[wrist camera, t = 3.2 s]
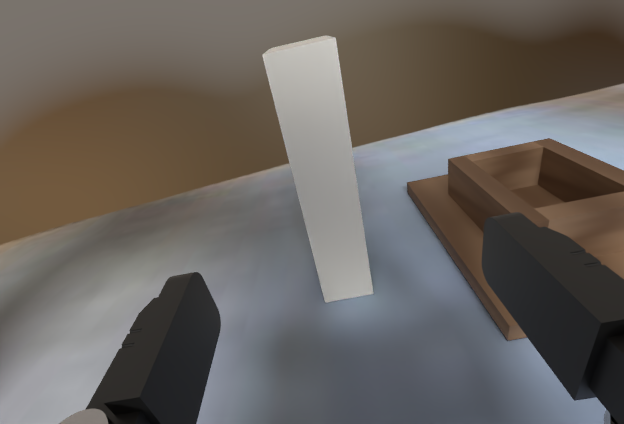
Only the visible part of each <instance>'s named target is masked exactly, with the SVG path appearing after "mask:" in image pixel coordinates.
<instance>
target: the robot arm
mask: <svg viewBox="0 0 624 424" xmlns="http://www.w3.org/2000/svg"><path fill="white" fill-rule="evenodd" d="M482 270H483V274H484V277H485V279H486V281H487V283H488V285H489V286H490V287H491V289H492V290H493V292H494V293H495V294H496V296H497V297H498V298H499V300H500V301H501V302H502V304H503V305H504V306H505V308H506V309H507V310H508V312H509V313H510V314H511V316H512V317H513V318H514V320H515V321H516V322H517V324H518V325H519V327H520V328H521V329H522V331H523V332H524V333H525V335H526V336H527V337H528V339H529V340H530V341H531V343H532V344H533V345H534V347H535V348H536V349H537V351H538V352H539V353H540V355H541V356H542V357H543V359H544V360H545V362H546V363H547V364H548V366H549V367H550V368H551V370H552V371H553V372H554V374H555V375H556V376H557V378H558V379H559V380H560V382H561V383H562V384H563V386H564V387H565V388H566V390H567V391H568V392H569V394H570V395H571V397H572V398H573V399H574V400H581V399H588V398H594V397H597V398H598V399H599V400H600V402H601V403H602V404H603V405H604V407H605V408H606V411H605V414H604V424H624V279H623V278H621V277H620V276H619V275H617V274H616V273H615V272H614V271H612V270H611V269H610V268H608V267H607V266H606V265H602V264H601V261H599V260H598V259H597V258H595V257H594V256H593V255H592V254H590V253H586V250H585V249H584V248H582V247H581V246H580V245H579V244H577V243H576V242H575V241H573V240H572V239H571V238H569V237H568V236H566V235H564V234H561V233H559V232H557V231H554V230H552V229H550V228H547V227H540V228H539V227H538V226H537V225H535V224H534V223H533V222H532V221H531V220H529V219H528V218H527V217H526V216H525V215H523V214H522V213H520V212H514V213H509V214H504V215H499V216H493V217H488V218H487V219H486V220H485V223H484V233H483V247H482ZM220 326H221V321H220V314H219V311H218V308H217V306H216V304H215V302H214V300H213V298H212V296H211V294H210V292H209V290H208V288H207V286H206V284H205V281H204V279H203V277H202V276H201V274H199V273H198V272H194V273H189V274H183V275H178V276H173V277H170V278H169V279H168V280H167V281H166V283H165V285H164V287H163V289H162V291H161V293H160V295H159V297H158V298H154V299H153V300H152V301H151V302H150V303H149V304H148V305H147V306H146V307H145V308H144V309H143V310H142V311H141V312H140V313H139V315H138V316H137V318H136V320H135V322H134V324H133V325H132V327H131V329H130V334H127V336H126V338H125V340H124V342H123V343H122V348H121V349H119V350H118V352H117V354H116V356H115V358H114V359H113V361H112V363H111V365H110V367H109V368H108V370H107V372H106V374H105V376H104V377H103V379H102V381H101V383H100V385H99V386H98V388H97V390H96V392H95V394H94V395H93V397H92V399H91V401H90V403H89V404H88V406H87V408H86V409H85V410H83V411H80V412H77V413H75V414H73V415H71V416H70V417H68V418H66V419H65V420H63V421H62V422H61V423H59V424H196V422H197V419H198V415H199V411H200V407H201V403H202V399H203V395H204V391H205V387H206V384H207V380H208V376H209V372H210V368H211V364H212V360H213V356H214V352H215V348H216V345H217V341H218V337H219V333H220Z"/></svg>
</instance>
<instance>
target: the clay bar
mask: <svg viewBox="0 0 624 424" xmlns="http://www.w3.org/2000/svg"><path fill="white" fill-rule="evenodd" d="M262 56H263V60H264V64H265V68H266V72H267V76H268V80H269V83H270V87H271V91H272V95H273V99H274V103H275V107H276V111H277V115H278V119H279V123H280V127H281V131H282V135H283V139H284V143H285V146H286V150H287V154H288V158H289V162H290V166H291V170H292V174H293V178H294V182H295V186H296V190H297V194H298V198H299V202H300V206H301V210H302V214H303V218H304V222H305V225H306V229H307V233H308V237H309V241H310V245H311V249H312V253H313V257H314V261H315V265H316V269H317V273H318V277H319V281H320V285H321V289H322V293H323V296H324V300H325V303H327V302H332V301H338V300H343V299H349V298H355V297H360V296H366V295H371V294H374V293H373V287H372V280H371V273H370V266H369V260H368V253H367V246H366V240H365V233H364V226H363V219H362V213H361V206H360V199H359V192H358V186H357V179H356V172H355V165H354V159H353V152H352V146H351V139H350V132H349V126H348V118H347V112H346V105H345V99H344V91H343V85H342V78H341V71H340V65H339V57H338V51H337V44H336V38H334V37H330V36H322V37H318V38H313V39H309V40H304V41H300V42H296V43H292V44H287V45H283V46H279V47H274V48H271V49H269V50H268V51H267V52H265V53H264V54H263V55H262Z"/></svg>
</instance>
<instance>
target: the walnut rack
mask: <svg viewBox="0 0 624 424" xmlns="http://www.w3.org/2000/svg"><path fill="white" fill-rule="evenodd" d="M407 189H408V194H409V195H410V197H411V198H412V200H413V201H414V203H415V204H416V205H417V207H418V208H419V210H420V211H421V213H422V214H423V216H424V217H425V219H426V220H427V222H428V223H429V225H430V226H431V228H432V229H433V231H434V232H435V234H436V235H437V237H438V238H439V240H440V241H441V243H442V244H443V245H444V247H445V248H446V250H447V251H448V253H449V254H450V256H451V257H452V259H453V260H454V262H455V263H456V265H457V266H458V268H459V269H460V271H461V272H462V274H463V275H464V277H465V278H466V280H467V281H468V283H469V284H470V285H471V287H472V288H473V290H474V291H475V293H476V294H477V296H478V297H479V299H480V300H481V302H482V303H483V305H484V306H485V308H486V309H487V311H488V312H489V314H490V315H491V317H492V318H493V320H494V321H495V323H496V324H497V325H498V327H499V328H500V330H501V331H502V333H503V334H504V336H505V337H506V339H507V340H514V339H520V338H526V337H527V336H526V335H525V333H524V332H523V331H522V329H521V328H520V327H519V325H518V324H517V322H516V321H515V320H514V318H513V317H512V316H511V314H510V313H509V312H508V310H507V309H506V308H505V306H504V305H503V304H502V302H501V301H500V300H499V298H498V297H497V296H496V294H495V293H494V292H493V290H492V289H491V287H490V286H489V285H488V283H487V281H486V279H485V277H484V274H483V270H482V247H483V233H484V223H485V220H486V219H487V218H488V217H493V216H499V215H504V214H509V213H514V212H520V213H522V214H523V215H525V216H526V217H527V218H528V219H529V220H531V221H532V222H533V223H534V224H535V225H537V226H538V227H539V228H540V227H547V228H550V229H552V230H554V231H557V232H559V233H561V234H564V235H566V236H568V237H569V238H571V239H572V240H573V241H575V242H576V243H577V244H579V245H580V246H581V247H582V248H584V249H585V250H586V253H590V254H592V255H593V256H594V257H595V258H597V259H598V260H599V261H601V264H602V265H606V266H607V267H608V268H610V269H611V270H612V271H614V272H615V273H616V274H617V275H619V276H620V277H621V278H623V279H624V171H623V170H621V169H619V168H617V167H614V166H612V165H610V164H607V163H605V162H603V161H600V160H598V159H596V158H594V157H591V156H589V155H587V154H584V153H582V152H580V151H577V150H575V149H573V148H571V147H568V146H566V145H564V144H561V143H559V142H557V141H554V140H552V139H550V138H549V139H544V140H539V141H534V142H529V143H524V144H519V145H514V146H509V147H505V148H500V149H495V150H490V151H485V152H480V153H475V154H470V155H465V156H460V157H456V158H451V159H448V175H443V176H438V177H433V178H428V179H423V180H418V181H413V182H408V183H407Z"/></svg>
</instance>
